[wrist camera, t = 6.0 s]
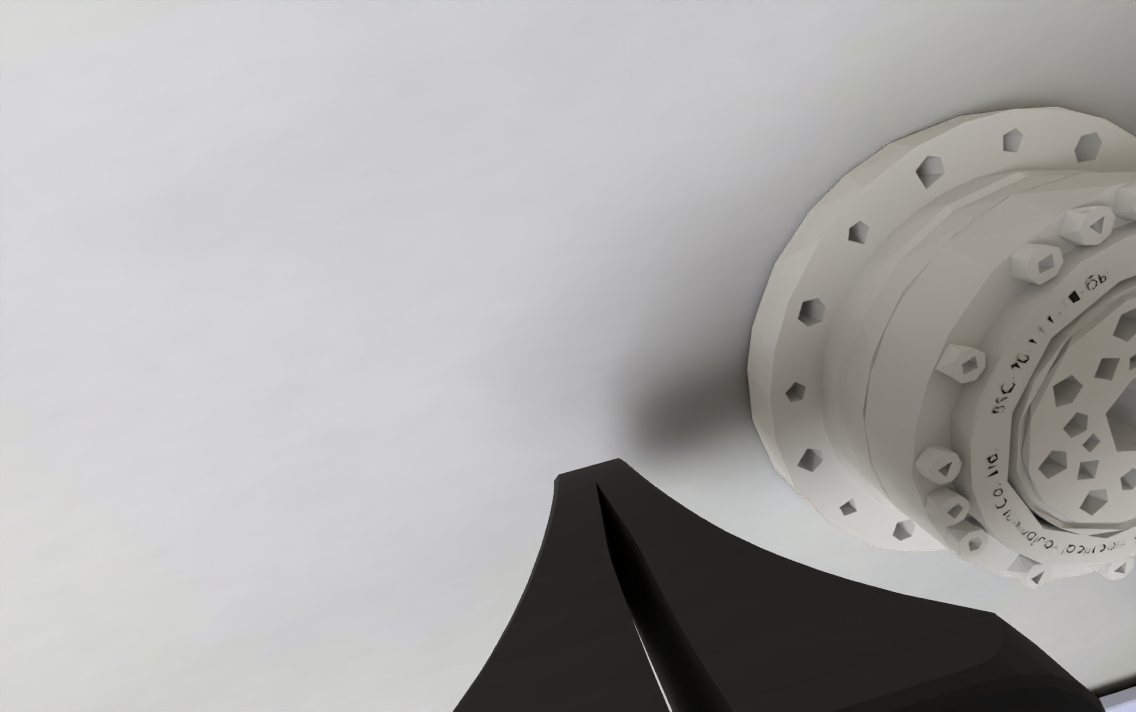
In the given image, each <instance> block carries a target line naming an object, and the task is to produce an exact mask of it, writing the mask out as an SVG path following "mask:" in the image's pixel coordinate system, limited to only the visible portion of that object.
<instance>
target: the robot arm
mask: <svg viewBox="0 0 1136 712" xmlns="http://www.w3.org/2000/svg"><path fill="white" fill-rule="evenodd" d="M633 621H634V622H633ZM634 623H635V624H634ZM635 626H636V627H635ZM636 628H637V630H638V632H637V630H636ZM638 633H639V635H640V637H641V640H642V642H643V644H644V647H645V649H646V651H647V653H648V656H649V658H650V660H651V663H652V665H653V667H654V670H655V672H656V674H657V676H658V679H659V681H660V683H661V686H662V688H663V690H664V693H665V695H666V697H667V700H668V702H669V704H670V706H671V709H672V712H1136V686H1135V687H1132V688H1128V689H1125V690H1122V691H1119V692H1116V693H1113V694H1110V695H1107V696H1104V697H1101V698H1097V697H1096V696H1095V695H1094V694H1093V693H1092V692H1090V691H1089V690H1088V689H1087V688H1086V687H1084V686H1083V685H1082V684H1081V683H1080V682H1078V681H1077V680H1076V679H1075V678H1074V677H1073V676H1071V675H1070V674H1069V673H1068V672H1067V671H1066V670H1065V669H1063V668H1062V667H1061V666H1060V665H1059V664H1058V663H1057V662H1055V661H1054V660H1053V659H1052V658H1051V657H1050V656H1048V655H1047V654H1046V653H1045V652H1044V651H1043V650H1042V649H1040V648H1039V647H1038V646H1037V645H1036V644H1034V643H1033V642H1032V641H1031V640H1029V639H1028V638H1027V637H1025V636H1024V635H1023V634H1021V633H1020V632H1019V631H1017V630H1016V629H1015V628H1013V627H1012V626H1011V625H1009V624H1008V623H1007V622H1005V621H1004V620H1003V619H1001V618H1000V617H999V616H997V615H996V614H995V613H992V612H987V611H982V610H977V609H972V608H967V607H963V606H958V605H953V604H948V603H943V602H938V601H933V600H928V599H923V598H918V597H914V596H909V595H904V594H900V593H896V592H892V591H889V590H885V589H881V588H878V587H874V586H870V585H867V584H863V583H859V582H856V581H852V580H849V579H845V578H842V577H839V576H836V575H833V574H829V573H826V572H823V571H820V570H817V569H814V568H812V567H809V566H806V565H803V564H801V563H798V562H795V561H792V560H790V559H787V558H784V557H782V556H779V555H777V554H774V553H772V552H769V551H767V550H765V549H762V548H760V547H758V546H756V545H754V544H751V543H749V542H747V541H745V540H743V539H741V538H739V537H736V536H734V535H732V534H730V533H728V532H726V531H724V530H722V529H721V528H719V527H717V526H715V525H714V524H712V523H710V522H708V521H707V520H705V519H703V518H702V517H700V516H698V515H697V514H695V513H693V512H692V511H690V510H689V509H687V508H686V507H684V506H683V505H681V504H680V503H678V502H677V501H675V500H674V499H672V498H671V497H669V496H668V495H667V494H665V493H664V492H662V491H661V490H659V489H658V488H657V487H655V486H654V485H653V484H651V483H650V482H649V481H648V480H646V479H645V478H644V477H642V476H641V475H640V474H639V473H638V472H636V471H635V470H634V469H633V468H632V467H630V466H629V465H628V464H627V463H626V462H624V461H623V460H621V459H619V458H617V459H614V460H610V461H606V462H603V463H599V464H595V465H592V466H588V467H585V468H581V469H577V470H574V471H570V472H566V473H563V474H559V475H558V476H557V478H556V479H555V481H554V495H553V502H552V507H551V512H550V516H549V520H548V524H547V527H546V531H545V535H544V538H543V542H542V545H541V548H540V551H539V554H538V556H537V559H536V562H535V565H534V567H533V570H532V573H531V576H530V578H529V581H528V583H527V585H526V588H525V590H524V592H523V594H522V597H521V599H520V601H519V603H518V605H517V607H516V609H515V611H514V613H513V615H512V617H511V619H510V621H509V623H508V625H507V627H506V629H505V631H504V632H503V634H502V636H501V638H500V639H499V641H498V643H497V645H496V647H495V648H494V650H493V652H492V654H491V655H490V657H489V659H488V660H487V662H486V664H485V665H484V667H483V668H482V670H481V672H480V673H479V675H478V676H477V678H476V679H475V681H474V682H473V683H472V685H471V686H470V688H469V689H468V691H467V692H466V693H465V695H464V696H463V698H462V699H461V701H460V702H459V704H458V705H457V706H456V708H455V709H454V711H453V712H670V711H669V709H668V707H667V704H666V702H665V699H664V697H663V695H662V692H661V690H660V687H659V685H658V683H657V680H656V678H655V675H654V673H653V670H652V668H651V665H650V663H649V660H648V658H647V655H646V653H645V650H644V648H643V645H642V642H641V640H640V637H639V635H638Z"/></svg>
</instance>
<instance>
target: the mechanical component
mask: <svg viewBox="0 0 1136 712" xmlns="http://www.w3.org/2000/svg"><path fill="white" fill-rule="evenodd" d="M747 373H748V383H749V392H750V402H751V411H752V421H753V423H754V425H755V427H756V429H757V432H758V434H759V436H760V438H761V440H762V442H763V445H764V447H765V449H766V451H767V453H768V455H769V458H770V460H771V462H772V464H773V466H774V469H775V470H776V471H777V472H778V473H779V474H780V475H781V476H782V477H783V478H784V479H785V480H786V481H787V482H788V483H789V484H790V485H791V486H792V487H793V488H794V489H795V490H796V491H797V492H798V493H799V494H800V495H801V496H802V497H803V498H804V499H805V500H806V501H807V502H808V503H809V504H810V505H811V506H812V507H813V508H814V509H815V510H816V511H817V512H818V513H819V514H820V515H821V516H822V517H823V518H824V519H825V520H826V521H827V522H828V523H829V524H831V525H833V526H835V527H837V528H839V529H841V530H843V531H845V532H847V533H849V534H850V535H852V536H854V537H856V538H858V539H860V540H862V541H864V542H866V543H868V544H870V545H872V546H874V547H881V548H888V549H895V550H903V551H910V552H916V551H932V550H950V551H951V552H952V553H953V554H955V555H956V556H957V557H959V558H961V559H963V560H965V561H968V562H970V563H972V564H974V565H976V566H978V567H980V568H983V569H985V570H987V571H989V572H991V573H993V574H996V575H998V576H1005V577H1013V578H1015V579H1017V580H1018V581H1019V582H1020V583H1021V584H1023V585H1024V586H1026V587H1028V588H1030V589H1032V590H1033V591H1035V590H1036V589H1038V588H1039V587H1041V586H1042V585H1044V584H1045V583H1047V582H1048V581H1050V580H1052V579H1058V578H1065V577H1071V576H1078V575H1084V574H1088V573H1091V572H1093V571H1097V572H1099V573H1100V574H1102V575H1104V576H1105V577H1107V578H1109V579H1111V580H1112V581H1115V580H1119V579H1123V578H1124V577H1125V576H1126V575H1127V574H1128V573H1129V572H1130V571H1131V570H1132V569H1133V568H1134V558H1133V556H1135V555H1136V137H1135V136H1133V135H1131V134H1130V133H1128V132H1126V131H1125V130H1123V129H1121V128H1120V127H1118V126H1116V125H1115V124H1113V123H1111V122H1110V121H1108V120H1106V119H1104V118H1100V117H1096V116H1092V115H1088V114H1084V113H1081V112H1077V111H1073V110H1069V109H1065V108H1062V107H1041V108H1024V109H1010V110H1002V111H994V112H986V113H978V114H970V115H962V116H958V117H955V118H952V119H950V120H947V121H945V122H942V123H940V124H937V125H935V126H932V127H930V128H927V129H924V130H922V131H919V132H917V133H914V134H912V135H909V136H907V137H904V138H902V139H899V140H896V141H894V142H891V143H890V144H888V145H887V146H885V147H884V148H883V149H881V150H880V151H878V152H877V153H875V154H874V155H873V156H871V157H870V158H868V159H867V160H865V161H864V162H863V163H861V164H860V165H858V166H857V167H855V168H854V169H853V170H851V171H850V172H848V173H847V174H845V175H844V176H843V178H842V179H841V180H840V181H839V182H838V183H837V184H836V185H835V186H834V187H833V188H832V189H831V190H830V191H829V192H828V193H827V194H826V195H825V196H824V197H823V198H822V199H821V200H820V201H819V202H818V203H817V204H816V205H815V206H814V207H813V208H812V209H811V210H810V211H809V213H808V214H807V216H806V217H805V219H804V220H803V222H802V223H801V225H800V226H799V228H798V229H797V231H796V232H795V234H794V235H793V237H792V238H791V240H790V241H789V243H788V244H787V246H786V247H785V249H784V250H783V252H782V253H781V255H780V256H779V258H778V259H777V261H776V262H775V265H774V267H773V270H772V273H771V275H770V278H769V281H768V284H767V286H766V289H765V292H764V295H763V297H762V300H761V303H760V305H759V308H758V311H757V314H756V317H755V320H754V323H753V326H752V332H751V341H750V349H749V357H748V365H747Z"/></svg>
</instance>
